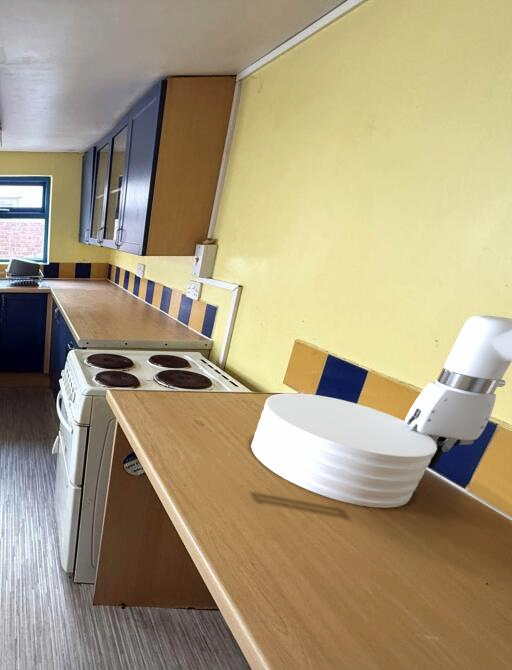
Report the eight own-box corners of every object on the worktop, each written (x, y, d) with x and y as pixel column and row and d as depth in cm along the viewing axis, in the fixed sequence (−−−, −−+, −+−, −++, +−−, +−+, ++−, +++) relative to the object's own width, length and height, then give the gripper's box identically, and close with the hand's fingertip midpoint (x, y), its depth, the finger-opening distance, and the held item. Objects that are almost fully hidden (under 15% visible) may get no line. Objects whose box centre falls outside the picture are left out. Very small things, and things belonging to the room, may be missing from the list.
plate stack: (425, 479, 86) (451, 432, 81) (387, 528, 70) (416, 473, 66) (281, 424, 107) (296, 385, 102) (228, 453, 91) (242, 408, 87)
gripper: (499, 380, 78) (454, 461, 85) (407, 370, 81) (371, 448, 88) (534, 395, 71) (482, 481, 78) (433, 383, 75) (391, 466, 82)
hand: (423, 463), depth 83 cm, fingers closed
